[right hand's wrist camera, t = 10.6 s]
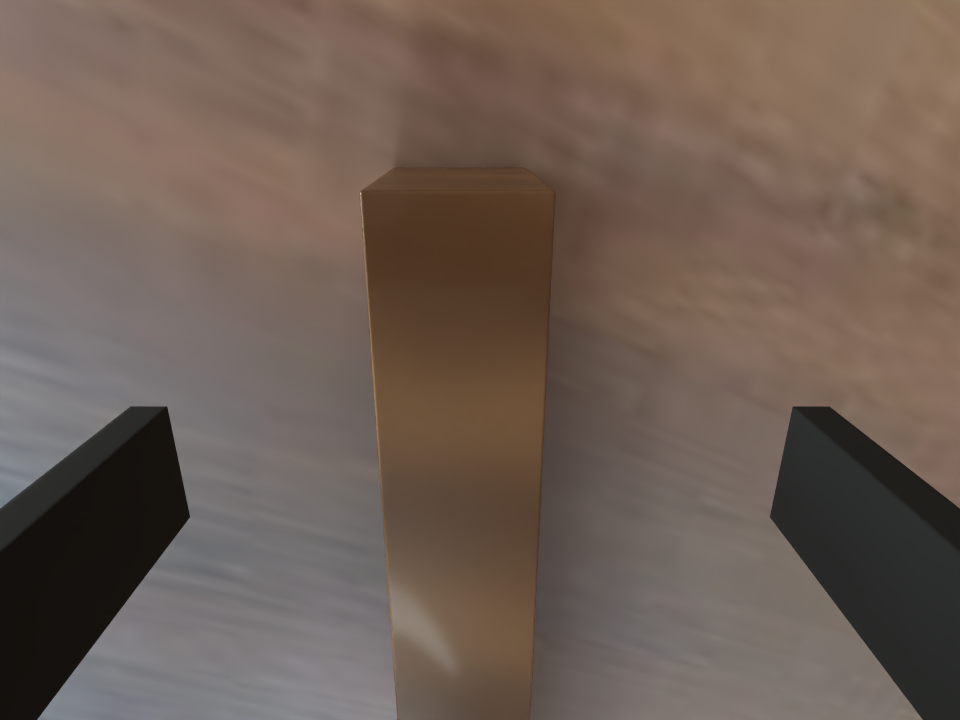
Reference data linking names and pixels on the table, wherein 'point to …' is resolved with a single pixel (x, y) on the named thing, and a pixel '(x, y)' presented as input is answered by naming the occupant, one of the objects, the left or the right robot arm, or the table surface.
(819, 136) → the table surface
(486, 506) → the bar
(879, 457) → the right robot arm
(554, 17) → the table surface
